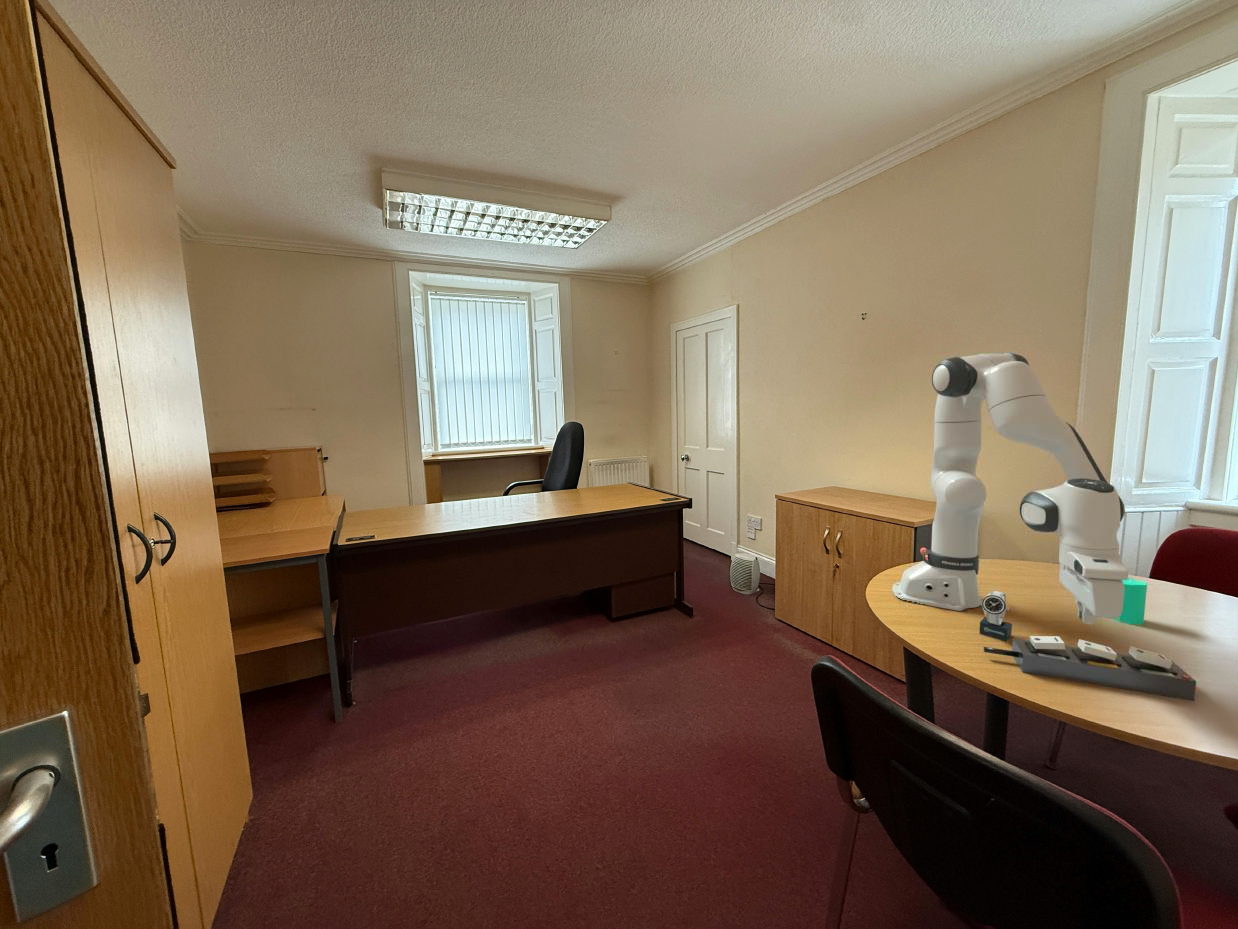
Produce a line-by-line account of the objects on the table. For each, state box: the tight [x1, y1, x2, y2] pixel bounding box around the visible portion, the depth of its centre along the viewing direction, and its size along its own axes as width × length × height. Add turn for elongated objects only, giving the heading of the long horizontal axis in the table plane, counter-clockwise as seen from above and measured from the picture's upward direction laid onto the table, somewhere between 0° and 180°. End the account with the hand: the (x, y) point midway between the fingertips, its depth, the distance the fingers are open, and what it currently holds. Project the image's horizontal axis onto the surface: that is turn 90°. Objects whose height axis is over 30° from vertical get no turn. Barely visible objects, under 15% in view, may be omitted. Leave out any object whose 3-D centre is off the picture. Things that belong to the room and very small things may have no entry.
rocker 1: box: [1029, 635, 1066, 649], centre depth 104 cm, size 5×3×2 cm, turn 63°
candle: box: [1113, 574, 1148, 626], centre depth 124 cm, size 6×6×12 cm
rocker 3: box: [1128, 645, 1172, 669], centre depth 97 cm, size 5×3×2 cm, turn 63°
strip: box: [983, 637, 1197, 702], centre depth 102 cm, size 32×8×4 cm, turn 63°
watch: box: [978, 590, 1013, 642], centre depth 119 cm, size 6×8×11 cm
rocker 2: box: [1077, 638, 1117, 660], centre depth 100 cm, size 5×3×2 cm, turn 63°
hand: (1086, 621), depth 100 cm, fingers closed
